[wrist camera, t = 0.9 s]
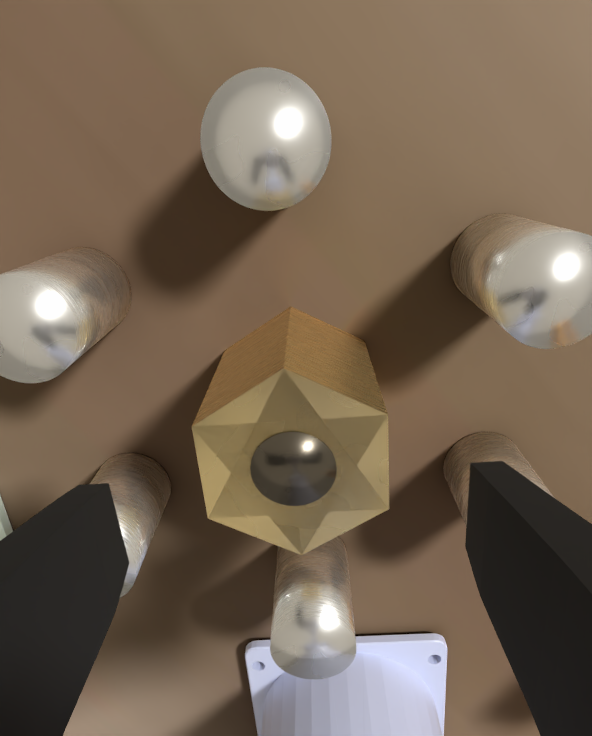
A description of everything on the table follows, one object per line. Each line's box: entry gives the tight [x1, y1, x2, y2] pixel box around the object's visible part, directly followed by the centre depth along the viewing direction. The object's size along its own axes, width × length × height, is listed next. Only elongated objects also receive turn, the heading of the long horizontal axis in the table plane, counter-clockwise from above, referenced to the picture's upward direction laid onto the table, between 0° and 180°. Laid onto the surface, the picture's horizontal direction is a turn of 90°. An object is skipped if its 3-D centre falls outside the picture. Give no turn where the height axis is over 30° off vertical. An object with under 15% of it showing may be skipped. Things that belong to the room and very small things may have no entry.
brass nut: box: [192, 307, 389, 555], centre depth 14 cm, size 5×4×5 cm
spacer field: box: [0, 67, 592, 679], centre depth 15 cm, size 17×15×4 cm
